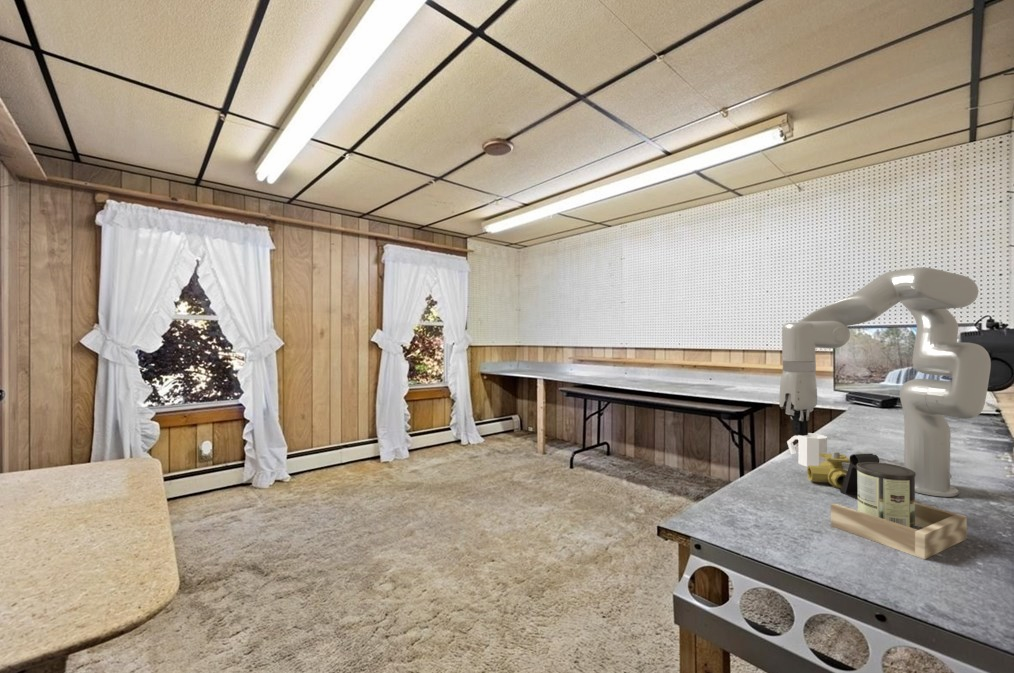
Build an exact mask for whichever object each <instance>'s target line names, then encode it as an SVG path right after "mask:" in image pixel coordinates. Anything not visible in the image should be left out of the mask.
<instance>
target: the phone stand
mask: <svg viewBox="0 0 1014 673" xmlns="http://www.w3.org/2000/svg"><path fill="white" fill-rule="evenodd" d="M849 459H850V463H849V465H848V469H847V474H846V476H845V479H844V482H843V485H842V487H841V488H840V491H839V492H840V493H841V494H843V495H845V496H847V497H850V498H852V499H854V500H857V501H858V484H857V464H858V463H861V462H878V463H880V457H879V456H878V454H874V453H859V454H858V453H855V454H851V455H850V456H849Z"/></svg>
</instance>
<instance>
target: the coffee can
mask: <svg viewBox="0 0 1014 673" xmlns="http://www.w3.org/2000/svg"><path fill="white" fill-rule="evenodd" d="M915 476H916V473H915V472H914V471H912V470H910V469H908V468H905V467H904V466H901V465H898V464H892V463H886V462H879V463H878V462H861V463H858V464H857V484H858V500H857V511H860V512H863V513H866V514H870V515H873V516H876V517H879V518H882V519H885V520H888V521H892V522H895V523H898V524H901V525H904V526H907V527H911V528H914V529H916V526H915V502H916V500H915V499H916V492H915Z"/></svg>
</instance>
